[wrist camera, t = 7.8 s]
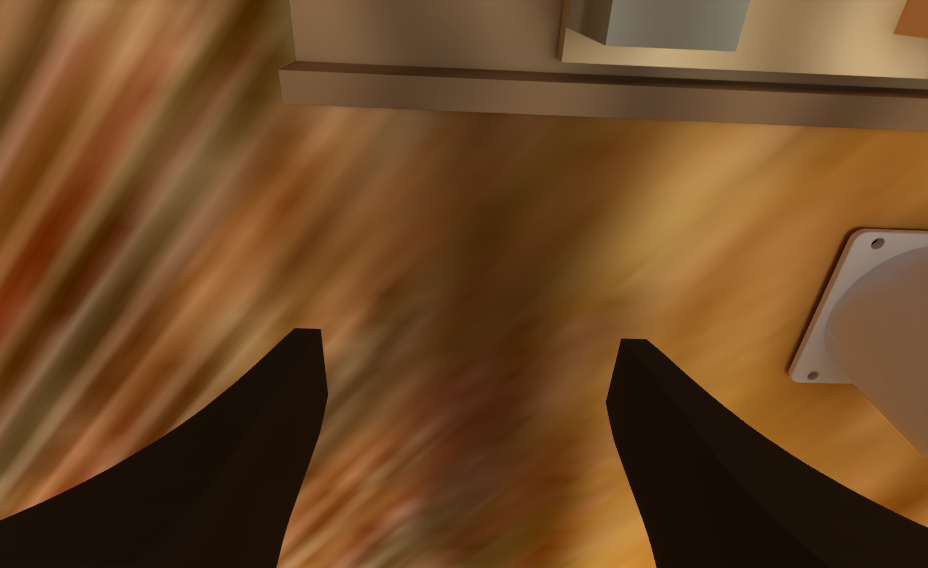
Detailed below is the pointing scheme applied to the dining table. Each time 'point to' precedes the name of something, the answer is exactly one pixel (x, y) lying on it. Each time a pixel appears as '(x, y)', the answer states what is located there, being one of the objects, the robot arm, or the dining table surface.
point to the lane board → (551, 71)
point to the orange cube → (914, 19)
